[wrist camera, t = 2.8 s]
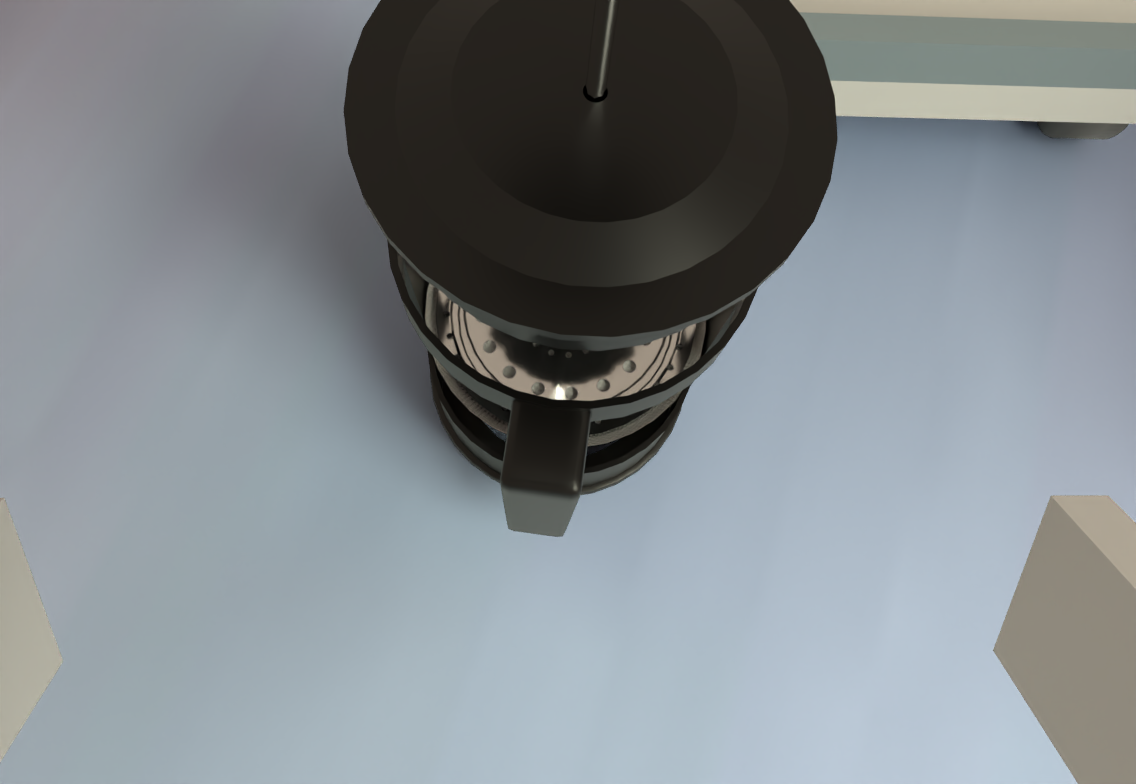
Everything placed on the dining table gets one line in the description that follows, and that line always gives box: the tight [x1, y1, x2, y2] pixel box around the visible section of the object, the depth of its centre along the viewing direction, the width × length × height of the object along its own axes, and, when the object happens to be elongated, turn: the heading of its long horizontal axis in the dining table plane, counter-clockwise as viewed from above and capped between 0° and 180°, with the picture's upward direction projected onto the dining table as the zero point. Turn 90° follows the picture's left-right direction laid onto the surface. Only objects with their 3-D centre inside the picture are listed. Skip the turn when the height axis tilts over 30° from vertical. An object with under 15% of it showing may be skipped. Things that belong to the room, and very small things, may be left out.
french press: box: [344, 0, 837, 537], centre depth 20 cm, size 12×9×23 cm
